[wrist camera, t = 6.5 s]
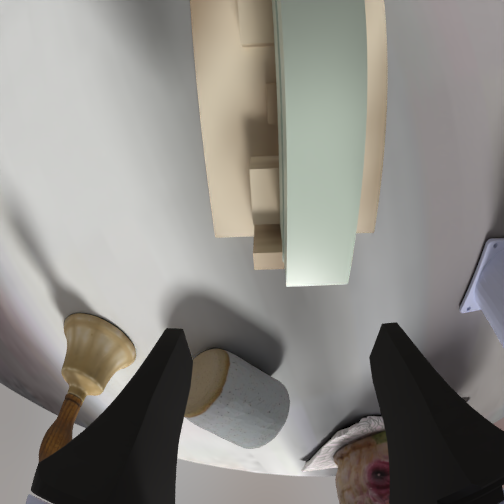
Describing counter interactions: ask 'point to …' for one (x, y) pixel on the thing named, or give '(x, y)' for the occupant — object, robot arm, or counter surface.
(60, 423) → the hand bell
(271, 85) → the display stand
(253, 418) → the ceramic mug
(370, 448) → the cookie jar
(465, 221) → the counter surface
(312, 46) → the glasses case
